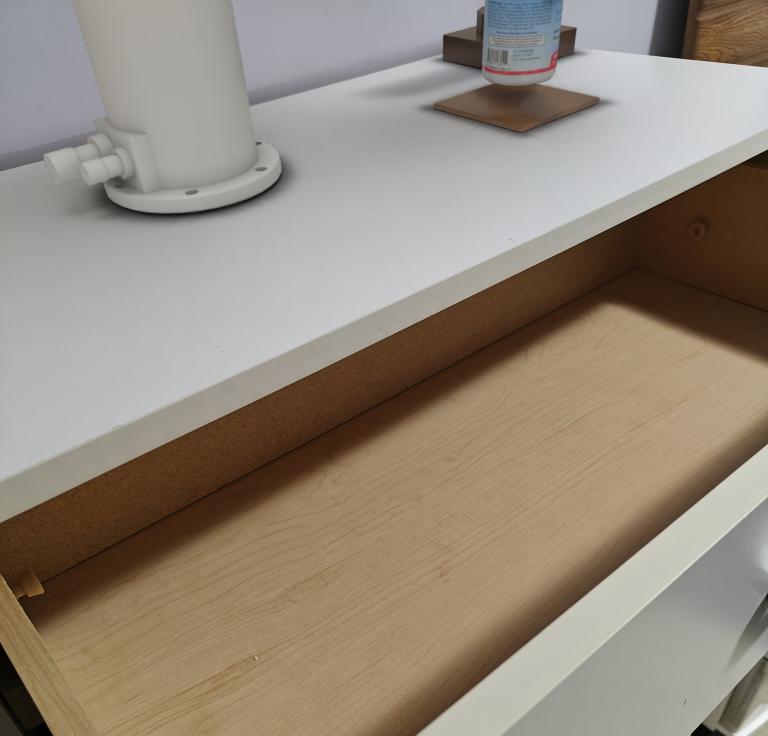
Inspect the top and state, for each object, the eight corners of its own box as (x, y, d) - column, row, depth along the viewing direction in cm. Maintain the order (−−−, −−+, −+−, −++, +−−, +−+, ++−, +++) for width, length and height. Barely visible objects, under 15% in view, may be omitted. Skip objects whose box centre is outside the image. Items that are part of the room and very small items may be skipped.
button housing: (508, 74, 65) (512, 24, 62) (442, 60, 70) (442, 12, 67) (574, 53, 69) (580, 5, 67) (507, 41, 74) (510, -5, 71)
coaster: (521, 132, 53) (521, 127, 53) (432, 108, 59) (432, 103, 59) (599, 102, 58) (600, 97, 57) (510, 82, 63) (510, 77, 63)
